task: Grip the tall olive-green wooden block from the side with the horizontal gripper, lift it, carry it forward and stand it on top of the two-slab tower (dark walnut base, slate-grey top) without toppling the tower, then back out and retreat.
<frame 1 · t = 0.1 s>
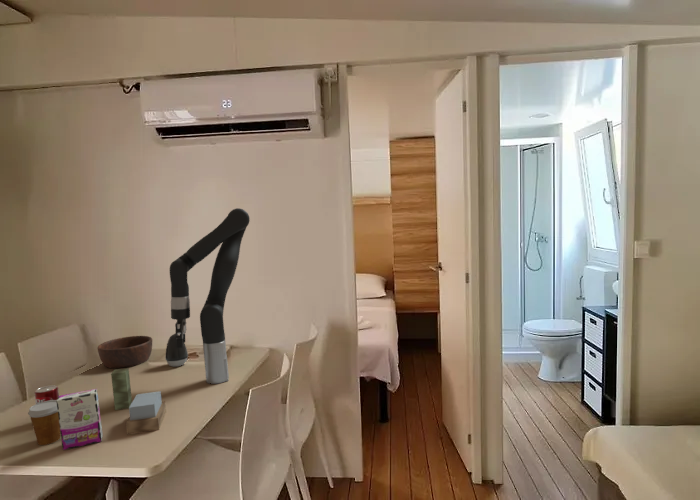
hand: (181, 345, 202), 17 cm above the table, tool pointing down, fingers open, 8 cm apart
olive block: (123, 406, 183), on the table
wooden bowl: (127, 362, 241), on the table
black egg shape: (177, 365, 231), on the table
disposable coffee cup: (49, 441, 158), on the table
candy bar box: (83, 443, 155), on the table
soda can: (50, 421, 174), on the table
tower base: (147, 423, 168), on the table, touching tower top
tower top: (146, 411, 167), point 4 cm above the table, touching tower base
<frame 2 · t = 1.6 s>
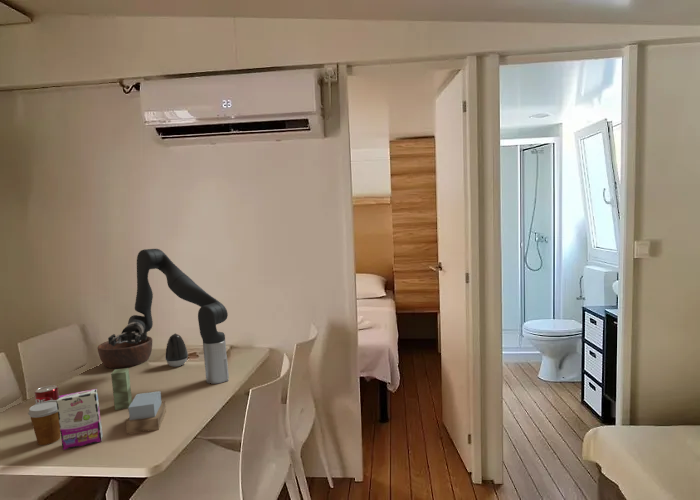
hand: (124, 342, 192), 22 cm above the table, tool horizontal, fingers open, 8 cm apart
tower base: (147, 423, 168), on the table
tower top: (146, 411, 167), point 4 cm above the table
everything else where it was.
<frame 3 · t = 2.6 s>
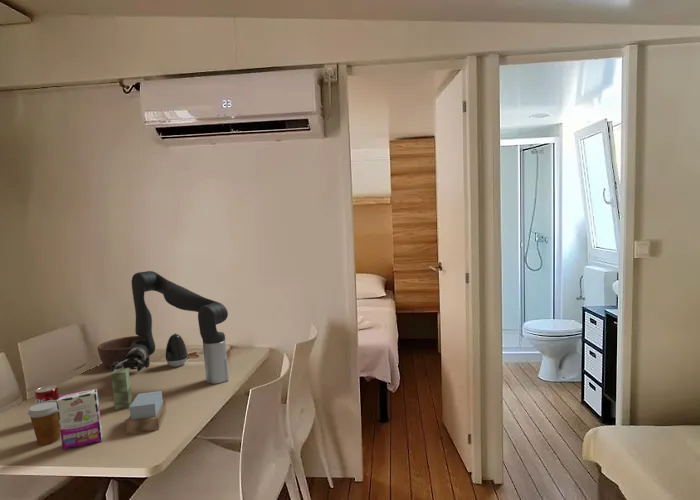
hand: (127, 370, 193), 11 cm above the table, tool horizontal, fingers open, 8 cm apart
nothing on the table moved.
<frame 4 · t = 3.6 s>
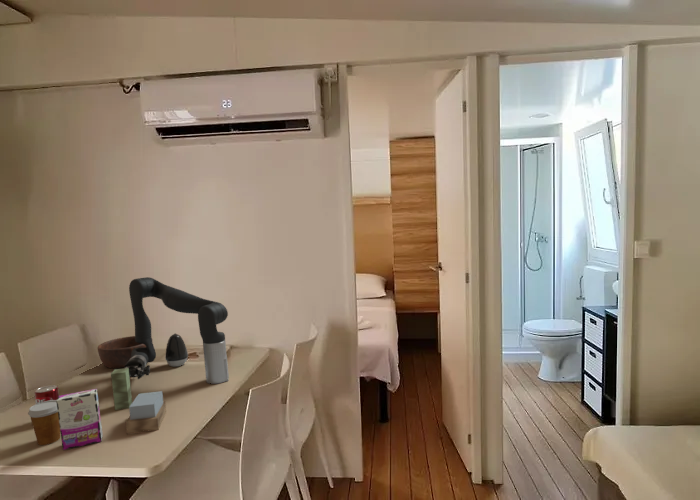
hand: (127, 378, 192), 8 cm above the table, tool horizontal, fingers open, 8 cm apart
tower base: (147, 423, 168), on the table, touching tower top
tower top: (147, 411, 167), point 4 cm above the table, touching tower base
everything else where it was.
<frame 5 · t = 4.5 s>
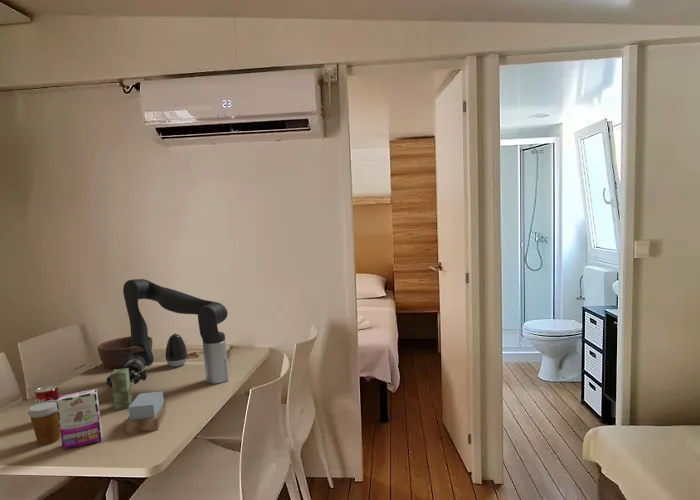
hand: (123, 383, 185), 8 cm above the table, tool horizontal, fingers open, 8 cm apart
nothing on the table moved.
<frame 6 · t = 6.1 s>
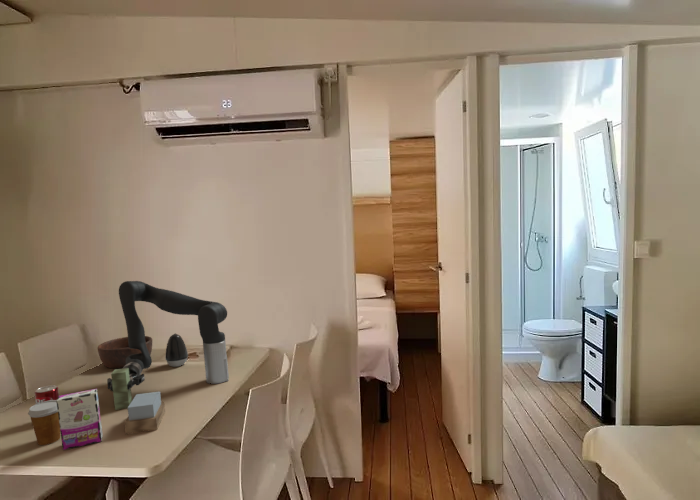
hand: (120, 388, 181), 8 cm above the table, tool horizontal, fingers closed on olive block, 5 cm apart
olive block: (123, 406, 183), on the table, touching gripper
everything else where it was.
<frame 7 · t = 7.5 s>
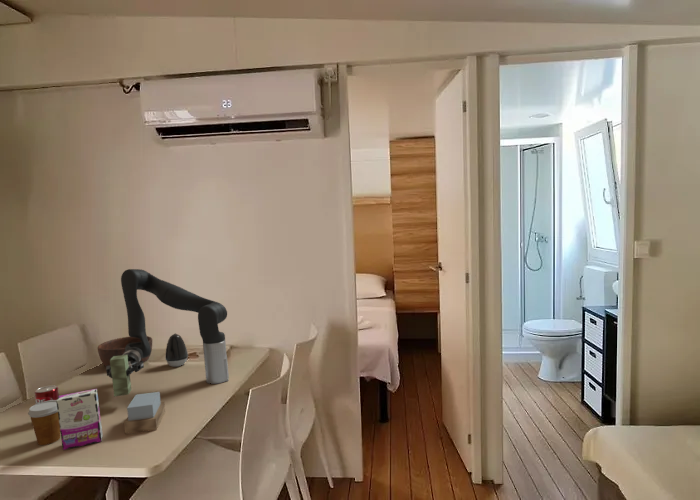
hand: (119, 374, 180), 13 cm above the table, tool horizontal, fingers closed on olive block, 5 cm apart
olive block: (123, 393, 183), point 5 cm above the table, touching gripper
tower base: (146, 424, 168), on the table
tower top: (145, 412, 167), point 4 cm above the table
everything else where it was.
when the fingers open (18 cm above the table, at t = 12.8 s): olive block drops 1 cm, resting on tower top.
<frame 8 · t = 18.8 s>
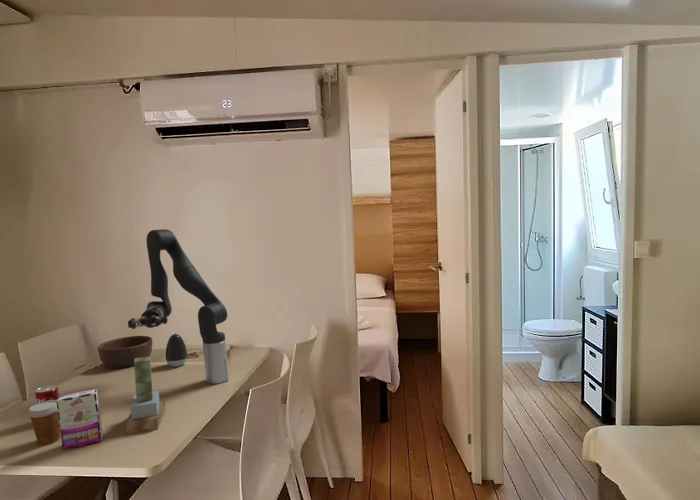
hand: (144, 325, 185), 30 cm above the table, tool horizontal, fingers open, 8 cm apart
olive block: (144, 398, 167), point 9 cm above the table, touching tower top
tower base: (147, 423, 168), on the table, touching tower top
tower top: (146, 410, 168), point 4 cm above the table, touching olive block, tower base
everything else where it was.
at the end: olive block 0.7 cm off-centre on the tower top, point 4.6 cm above the tower top's base; olive block tilted 2°; tower top 0.2 cm off-centre on the tower base, point 4.5 cm above the tower base's base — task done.
